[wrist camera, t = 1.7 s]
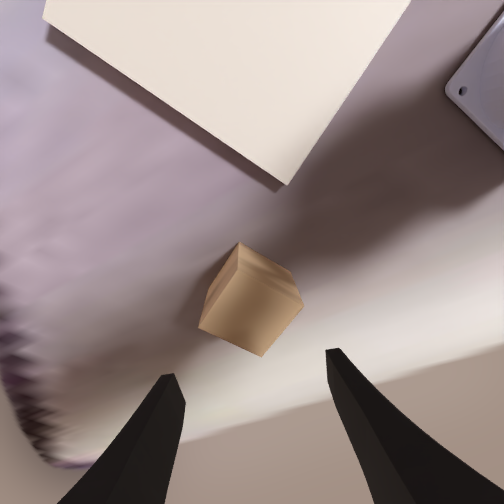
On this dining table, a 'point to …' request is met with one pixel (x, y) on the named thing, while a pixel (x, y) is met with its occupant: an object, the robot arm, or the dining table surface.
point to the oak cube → (250, 301)
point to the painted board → (239, 62)
